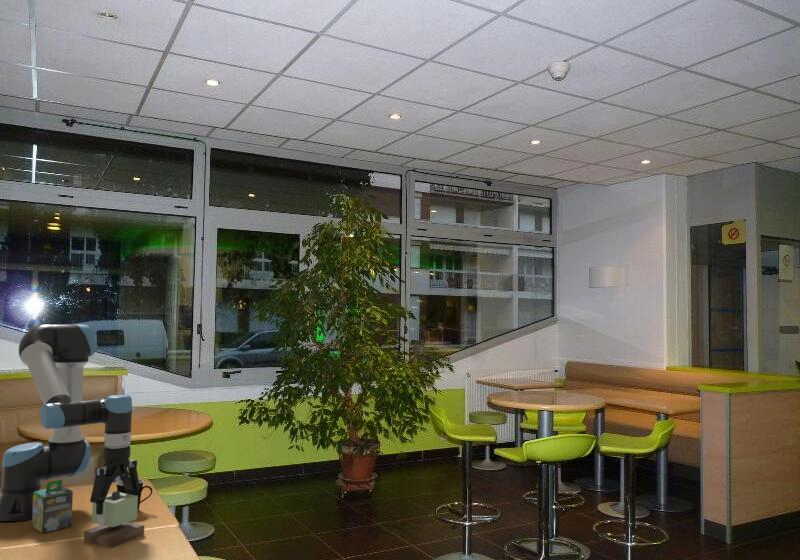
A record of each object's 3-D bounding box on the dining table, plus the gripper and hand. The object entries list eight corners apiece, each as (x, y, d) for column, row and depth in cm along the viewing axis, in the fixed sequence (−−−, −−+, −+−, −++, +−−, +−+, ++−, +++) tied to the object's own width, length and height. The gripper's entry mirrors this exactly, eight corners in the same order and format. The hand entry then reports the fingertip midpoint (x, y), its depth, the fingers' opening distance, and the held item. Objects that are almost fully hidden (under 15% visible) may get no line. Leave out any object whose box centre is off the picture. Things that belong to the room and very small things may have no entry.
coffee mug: (109, 512, 220) (111, 483, 220) (130, 505, 227) (131, 477, 228) (133, 517, 214) (134, 487, 215) (153, 511, 222) (154, 481, 222)
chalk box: (60, 520, 211) (62, 475, 212) (72, 526, 205) (74, 480, 206) (30, 527, 204) (32, 480, 205) (41, 534, 198) (43, 485, 199)
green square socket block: (91, 522, 193) (92, 499, 194) (116, 514, 201) (117, 491, 202) (112, 527, 189) (113, 503, 190) (137, 518, 198) (137, 495, 198)
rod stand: (83, 541, 192) (85, 493, 193) (116, 529, 203) (118, 484, 204) (111, 547, 187) (113, 498, 188) (144, 535, 198) (145, 488, 199)
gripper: (95, 454, 185) (92, 532, 184) (153, 440, 205) (151, 511, 204) (78, 451, 188) (75, 528, 187) (136, 438, 208) (134, 508, 207)
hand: (114, 519), depth 195 cm, fingers closed on green square socket block, 9 cm apart
